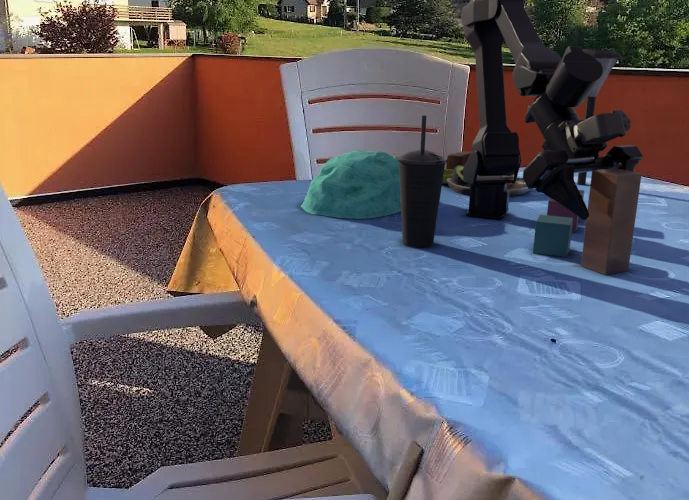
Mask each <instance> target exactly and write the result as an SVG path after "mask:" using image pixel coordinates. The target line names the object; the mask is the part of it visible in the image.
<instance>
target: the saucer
mask: <svg viewBox="0 0 689 500" xmlns="http://www.w3.org/2000/svg"><path fill="white" fill-rule="evenodd" d="M451 174H453V170H449V169H446V168H444V174H443V181H442V184H447V185H448V183H447V178H452V176H449V175H451Z"/></svg>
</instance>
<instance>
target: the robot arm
mask: <svg viewBox="0 0 689 500" xmlns="http://www.w3.org/2000/svg"><path fill="white" fill-rule="evenodd" d="M460 15H461V17H460V20H461V21H460V22H461V25H462V26H463V31H464V32H463V33H464V38H465V40H466V41H467V43H468V44H469V46H470V47H471V49H472V50H473V51H474V58H475V74H476V75H475V76H476V90H477V106H478V108H477V109H478V118H479V119H478V120H479V121H478V123H479V124H478V125H479V130H478V132H477V133H476V136H475V138H474V139H473V141H472V144H471V152H472V153H471V155H470V157H469V158H468V160H467V162H466V164H465V166H464V168H463V180H464V181H466V182H468V183H470V196H469V199H468V210H467V211H466V212H465V215H466V216H467V217H476V218H478V217H479V218H487V219H495V220H501V219H503V218H504V216H505V215H506V214H507V213H508V212H509V204H510V196H509V194H510V191H509V190H507V183H512V184H513V183H515V182H516V179H517V178H518V175H519V171H520V167H521V164H522V156H521V150H520V136H519V134H518V132H517V131H516V132H515V131H512V130H511V129H510V128H509V126H508V122H507V120H508V119H507V107H506V92H505V91H506V89H505V77H504V76H505V75H504V59H503V45H504V42H505V44H506V45H507V48H508V50H509V52H510V54H511V57H512V58H513V60H514V64H515V65H514V68H513V70H512V73H511V76H512V79H513V84H514V87H515V89H516V91H517V94H518V95H519V96H521V97H535V99H534V100H533V101H532V103H531V104H529V105H527V111H526V113H525V116H524V122H525V123H526V124H530V123H535V124H536V126H537V128H538V129H539V131H540V133H541V135H542V137H543V139H544V142H542V143H541V145H540V146H541V148H542V150H540V151H539V152H538V153H537V155H536V156H535V157H534V158H533V159H532V160H531V161H530V162H529V163H528V164H527V165H526V166H525V167H524V168H523V172H522V178H523V180H524V183H525V184H526V185H527V187H528V189H530V190H533V189H535V191H536V192H537V193H540V194H543V195H545V196H546V197H548V198H549V199H550V198H551V199H553V200H555V201H556V202H558V203H559V204H561V205H562V206H564V207H565V208H567V209H568V210H570V211H571V212H573V213H574V214H576V215H577V216H578V217H580V218H581V219H580V220H583V221H584V220H585V221H586V219H587V218H588V217H589V212H588V210H587V209H588V206H587V205H586V202H585V201H584V198H582V196H581V194H580V192H579V190H580V189H579V188H578V185H577V183H576V181H575V174H578V173H581V172H587V173H592V170H601V169H612V168H617V169H622V170H627V171H632V172H634V169H635V168H637V167H638V165H640V164H639V163H640V162H641V161H642V160H643V158H644V155H643V154H642V152H641V150H640V149H639V147H638V146H637V145H632V144H626V145H625V144H624V145H614V146H612V147H611V148H610V149H609V150H608V151H607V152H606V153H605V154H604V155H603V156H600V154H599V153H600V152H604V150H605V149H606V148H607V147H608V144H607V142H610V141H611V140H614V139H617V138H624V137H625V136H627V132H628V131H629V130H630V129H631V123H632V122H631V119H630V118H629V116H628V115H627V114H626V113H625V112H624V110H623V109H616V110H615V109H614V110H612V112H606V113H605V112H604V113H599V114H594V116H593V117H591V118H589V119H587V120H584V119H581V118H580V116H579V115H578V113H577V111H576V110H575V108H576V107H577V108H578V107H579V106H581V105H583V103H584V102H585V100H587V96H588V95H589V93H590V92H591V90H592V89H593V87H594V86H595V85H596V83H597V82H598V80H599V79H600V77H601V76H602V74H603V67H602V65H601V63H600V62H598V61H597V60H596V59H595V58H594V57H593V56H591V55H590V54H588V53H585V52H583V50H582V49H583V47H582V46H579V45H576V46H574V45H573V46H572V45H568V46H567V48H566V49H565V52H564V53H563V56H562V57H561V55H560V54H559V53H558V52H557V51H555V50H553V49H551V48H549V47H548V46H546V45H545V44H544V43H543V41H542V40H541V38H540V36H539V33H538V31H537V30H536V27H535V26H534V24H533V22H532V20H531V18H530V16H529V14H528V13H527V11H526V8H525V1H524V0H469V1H468V3H467V4H466V5H464V6H463V8H462V10H461V14H460ZM477 175H478V176H477Z"/></svg>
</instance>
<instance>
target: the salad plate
mask: <svg viewBox="0 0 689 500" xmlns="http://www.w3.org/2000/svg"><path fill="white" fill-rule="evenodd" d="M463 168H464V166H461V165H460V166H456V167H455V168H454V170H453V174H451V175H449V176H452V178H447V183H448V184H447V185H448V188H449V189H450V190H452V191H454V192H456V193H458V194H461V195H465V196H469V197H470V183H468V182H466V181H464V180H463ZM477 176H478V175H477ZM507 190H509V191H510V194H509V197H512V196H520V195H522V196H523V195H524V194H526V193H527V192H529V191H531V189H528V187H527V185H526V184H525V182H524V180H523V177H517V179H516V182H515V183H513V184H512V183H507Z"/></svg>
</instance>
